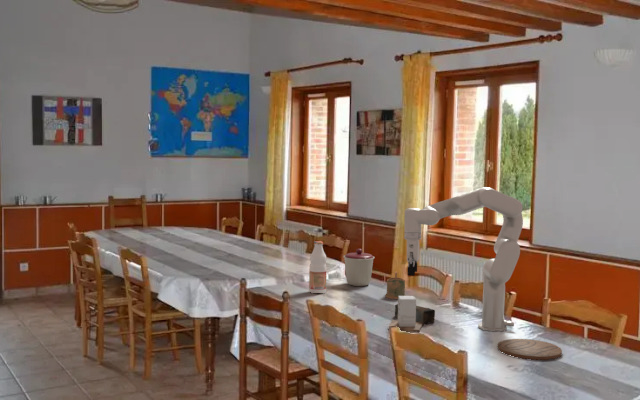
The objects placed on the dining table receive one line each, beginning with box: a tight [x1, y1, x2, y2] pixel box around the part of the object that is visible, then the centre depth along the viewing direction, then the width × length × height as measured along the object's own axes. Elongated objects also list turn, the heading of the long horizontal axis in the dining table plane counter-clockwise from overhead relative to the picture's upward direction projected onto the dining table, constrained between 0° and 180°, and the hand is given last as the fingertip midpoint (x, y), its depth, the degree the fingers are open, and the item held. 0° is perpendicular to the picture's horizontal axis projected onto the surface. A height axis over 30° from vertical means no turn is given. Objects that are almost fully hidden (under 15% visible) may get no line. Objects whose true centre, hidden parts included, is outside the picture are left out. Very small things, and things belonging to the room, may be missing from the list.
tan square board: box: [387, 319, 424, 333], centre depth 323 cm, size 14×14×1 cm
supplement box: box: [397, 295, 417, 327], centre depth 323 cm, size 7×7×13 cm
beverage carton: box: [394, 303, 436, 325], centre depth 338 cm, size 8×19×7 cm, turn 39°
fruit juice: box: [308, 240, 327, 294], centre depth 392 cm, size 9×9×28 cm
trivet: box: [496, 338, 563, 361], centre depth 290 cm, size 25×25×2 cm
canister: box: [343, 248, 375, 287], centre depth 416 cm, size 18×18×21 cm
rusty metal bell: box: [384, 271, 407, 300], centre depth 389 cm, size 12×18×12 cm, turn 174°
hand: (412, 273), depth 323 cm, fingers open, 9 cm apart
